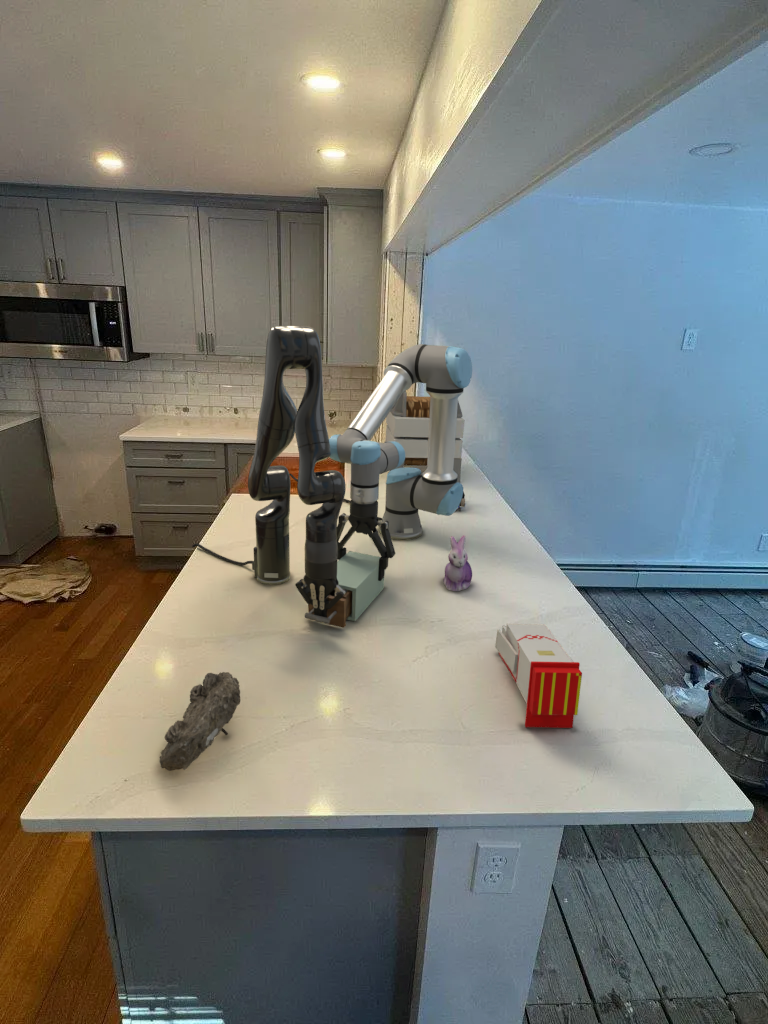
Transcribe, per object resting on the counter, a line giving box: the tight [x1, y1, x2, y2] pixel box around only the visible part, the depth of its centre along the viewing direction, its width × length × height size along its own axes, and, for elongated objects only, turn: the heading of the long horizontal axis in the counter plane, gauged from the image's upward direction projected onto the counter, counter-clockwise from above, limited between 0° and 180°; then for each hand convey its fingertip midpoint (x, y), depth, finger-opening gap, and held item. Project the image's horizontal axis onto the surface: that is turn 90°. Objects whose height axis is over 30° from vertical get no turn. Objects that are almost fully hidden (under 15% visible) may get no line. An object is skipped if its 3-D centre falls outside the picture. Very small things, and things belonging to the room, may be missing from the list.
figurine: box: [443, 534, 473, 592], centre depth 162 cm, size 9×10×15 cm
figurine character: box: [457, 490, 466, 511], centre depth 229 cm, size 7×8×15 cm
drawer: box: [304, 589, 352, 629], centre depth 144 cm, size 24×10×7 cm, turn 159°
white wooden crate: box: [383, 390, 465, 483], centre depth 268 cm, size 34×33×41 cm
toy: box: [494, 623, 583, 729], centre depth 120 cm, size 12×13×30 cm
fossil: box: [159, 671, 241, 772], centre depth 102 cm, size 22×10×15 cm
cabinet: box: [337, 550, 386, 622], centre depth 152 cm, size 20×11×9 cm, turn 159°
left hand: (320, 620), depth 137 cm, fingers closed
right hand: (361, 574), depth 158 cm, fingers closed on cabinet, 11 cm apart
